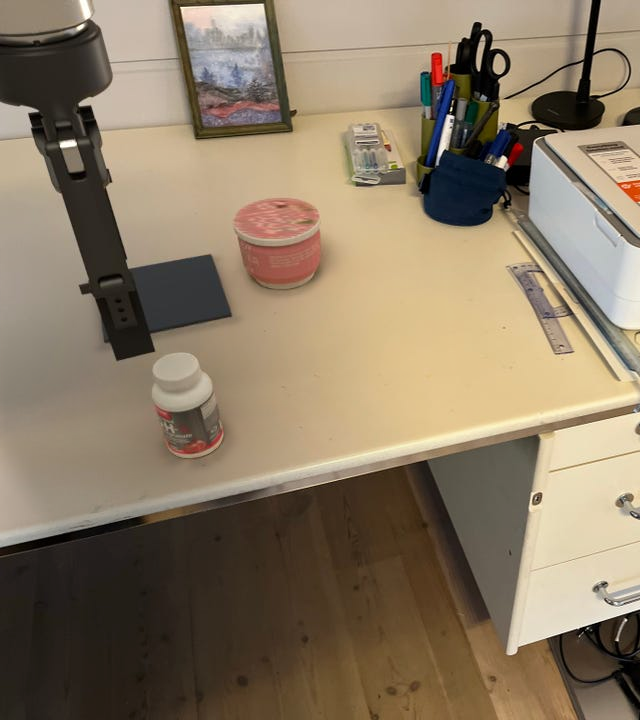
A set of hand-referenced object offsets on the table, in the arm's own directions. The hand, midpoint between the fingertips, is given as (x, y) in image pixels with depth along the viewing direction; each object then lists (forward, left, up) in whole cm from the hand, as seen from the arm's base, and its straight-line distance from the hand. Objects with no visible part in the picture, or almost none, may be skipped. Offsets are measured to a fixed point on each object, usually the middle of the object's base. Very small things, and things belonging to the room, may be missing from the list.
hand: (122, 304), depth 60 cm
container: (+17, +28, -19) cm, 38 cm away
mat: (+2, +28, -19) cm, 34 cm away
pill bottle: (+2, +2, -19) cm, 19 cm away
